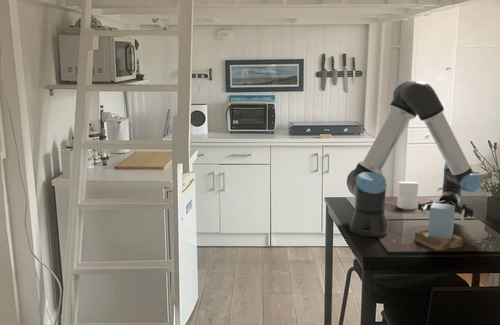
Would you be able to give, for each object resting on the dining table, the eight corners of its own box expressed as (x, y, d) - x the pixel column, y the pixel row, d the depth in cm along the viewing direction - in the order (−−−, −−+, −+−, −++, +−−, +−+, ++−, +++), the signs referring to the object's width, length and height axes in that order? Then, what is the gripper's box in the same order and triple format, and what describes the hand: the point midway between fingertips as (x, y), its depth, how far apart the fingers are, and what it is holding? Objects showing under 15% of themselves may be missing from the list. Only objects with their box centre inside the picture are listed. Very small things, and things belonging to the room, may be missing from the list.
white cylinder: (412, 204, 241) (414, 180, 239) (419, 209, 233) (421, 184, 230) (394, 204, 241) (396, 180, 239) (400, 209, 232) (402, 184, 230)
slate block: (450, 239, 180) (453, 210, 178) (427, 235, 184) (430, 207, 182) (452, 233, 187) (455, 205, 185) (430, 229, 191) (433, 202, 189)
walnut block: (437, 252, 178) (438, 241, 178) (414, 241, 189) (415, 231, 188) (462, 248, 183) (463, 237, 182) (438, 237, 194) (439, 228, 193)
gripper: (480, 215, 198) (477, 229, 180) (416, 206, 210) (407, 219, 191) (482, 197, 197) (479, 209, 178) (418, 189, 208) (409, 201, 190)
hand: (442, 215), depth 185 cm, fingers open, 13 cm apart
